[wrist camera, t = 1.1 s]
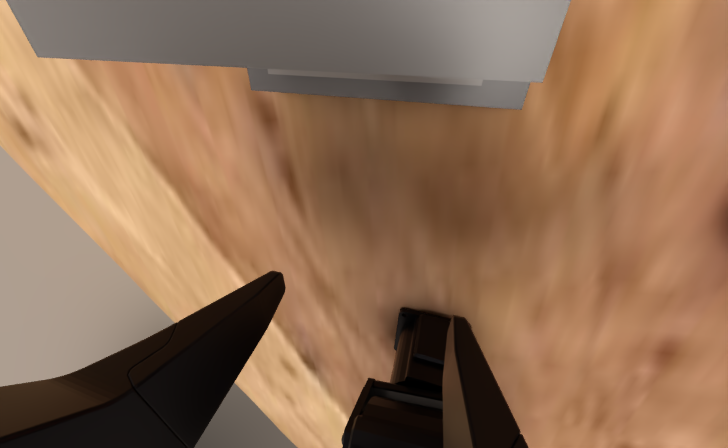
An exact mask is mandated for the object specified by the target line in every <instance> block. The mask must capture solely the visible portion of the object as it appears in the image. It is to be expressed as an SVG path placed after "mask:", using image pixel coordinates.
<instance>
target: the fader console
mask: <svg viewBox="0 0 728 448" xmlns="http://www.w3.org/2000/svg"><path fill="white" fill-rule="evenodd" d="M247 70H248V75H249V80H250V86H251V90H255V91H269V92H283V93H297V94H311V95H325V96H339V97H353V98H367V99H381V100H394V101H408V102H422V103H436V104H450V105H464V106H478V107H492V108H506V109H519V110H522V107H523V104H524V101H525V97H526V94H527V91H528V88H529V85H530V82H521V81H501V80H483V81H482V86H477V85H459V84H441V83H422V82H404V81H386V80H368V79H350V78H332V77H314V76H296V75H278V74H268V69H262V68H247Z"/></svg>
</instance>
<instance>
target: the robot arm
mask: <svg viewBox="0 0 728 448" xmlns="http://www.w3.org/2000/svg"><path fill="white" fill-rule="evenodd" d="M284 293H285V283H284V278H283V274H282V273H281V272H277V271H270V272H268V273H267V274H265V275H263V276H261V277H259V278H257V279H255V280H254V281H252V282H250V283H248V284H246V285H244V286H243V287H241V288H239V289H237V290H235V291H233V292H232V293H230V294H228V295H226V296H224V297H222V298H221V299H219V300H217V301H215V302H213V303H211V304H210V305H208V306H206V307H204V308H202V309H200V310H198V311H197V312H195V313H193V314H191V315H189V316H187V317H186V318H184V319H182V320H180V321H179V322H178V323H174V324H173V325H171V326H169V327H168V328H165V329H163V330H161V331H160V332H158V333H156V334H154V335H152V336H150V337H148V338H146V339H144V340H142V341H140V342H138V343H136V344H134V345H132V346H129V347H127V348H125V349H123V350H121V351H119V352H117V353H114V354H113V355H110V356H108V357H106V358H104V359H102V360H100V361H98V362H95V363H93V364H91V365H89V366H87V367H85V368H82V369H80V370H78V371H75V372H72V373H70V374H67V375H64V376H60V377H56V378H52V379H47V380H41V381H34V382H28V383H22V384H15V385H9V386H3V387H0V448H194V447H195V445H196V443H197V442H198V440H199V439H200V437H201V435H202V434H203V432H204V430H205V429H206V427H207V426H208V424H209V422H210V421H211V419H212V417H213V416H214V414H215V413H216V411H217V409H218V408H219V406H220V404H221V403H222V401H223V399H224V398H225V396H226V395H227V393H228V391H229V390H230V388H231V387H232V385H233V383H234V382H235V380H236V379H237V377H238V375H239V374H240V372H241V370H242V369H243V367H244V366H245V364H246V362H247V361H248V359H249V357H250V356H251V354H252V353H253V351H254V349H255V348H256V346H257V344H258V343H259V341H260V340H261V338H262V336H263V335H264V333H265V331H266V330H267V328H268V326H269V324H270V322H271V320H272V318H273V316H274V314H275V312H276V310H277V307H278V305H279V303H280V301H281V299H282V297H283V295H284ZM394 349H395V350H396V351H397V352H396V356H395V361H394V366H393V371H392V375H391V380H390V383H388V382H382V381H377V380H375V379H373V378H368V380H367V382H366V384H365V387H363V389H362V392H361V394H360V396H359V398H358V401H357V403H356V405H355V407H354V410H353V412H352V414H351V416H350V418H349V421H348V423H347V425H346V427H345V430H344V433H343V436H342V444H343V448H528V445H527V443H526V441H525V439H524V437H523V435H522V434H520V429H519V427H518V425H517V423H516V421H515V419H514V417H513V415H512V413H511V410H510V408H509V406H508V404H507V402H506V400H505V398H504V396H503V394H502V392H501V390H500V388H499V386H498V383H497V381H496V379H495V377H494V375H493V373H492V371H491V369H490V367H489V365H488V363H487V361H486V359H485V357H484V354H483V352H482V350H481V348H480V346H479V344H478V342H477V340H476V338H475V336H474V334H473V332H472V330H471V326H470V325H469V323H468V321H467V320H466V318H464V317H460V316H456V315H454V316H453V317H452V319H451V320H450V319H446V318H442V317H438V316H434V315H430V314H426V313H422V312H418V311H413V310H409V309H405V308H402V309H400V312H399V317H398V325H397V332H396V339H395V346H394Z"/></svg>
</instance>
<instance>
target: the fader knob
mask: <svg viewBox="0 0 728 448" xmlns="http://www.w3.org/2000/svg"><path fill="white" fill-rule="evenodd" d="M6 1H7V3H8V5H9V6H10V8H11V10H12V12H13V14H14V15H15V17H16V19H17V21H18V23H19V24H20V26H21V28H22V30H23V32H24V33H25V35H26V37H27V39H28V41H29V42H30V44H31V46H32V48H33V50H34V51H35V53H36V55H37V57H43V58H63V59H83V60H103V61H123V62H142V63H162V64H182V65H202V66H222V67H242V68H262V69H268V74H278V75H296V76H314V77H332V78H350V79H368V80H386V81H404V82H422V83H441V84H459V85H477V86H482V81H483V80H501V81H521V82H541V83H542V82H543V79H544V77H545V74H546V71H547V68H548V65H549V62H550V59H551V56H552V53H553V50H554V48H555V45H556V42H557V39H558V36H559V33H560V30H561V27H562V24H563V21H564V19H565V16H566V13H567V10H568V7H569V4H570V1H571V0H6Z"/></svg>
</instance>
